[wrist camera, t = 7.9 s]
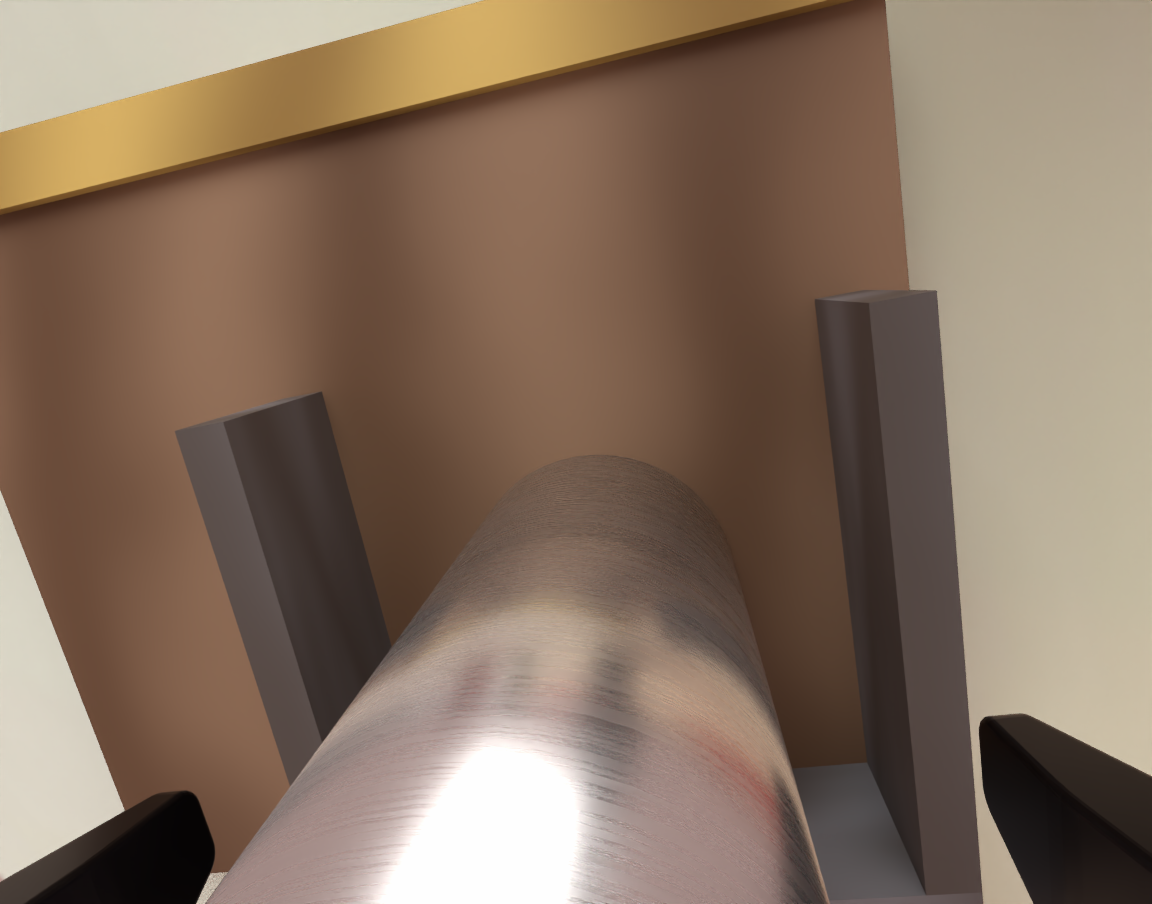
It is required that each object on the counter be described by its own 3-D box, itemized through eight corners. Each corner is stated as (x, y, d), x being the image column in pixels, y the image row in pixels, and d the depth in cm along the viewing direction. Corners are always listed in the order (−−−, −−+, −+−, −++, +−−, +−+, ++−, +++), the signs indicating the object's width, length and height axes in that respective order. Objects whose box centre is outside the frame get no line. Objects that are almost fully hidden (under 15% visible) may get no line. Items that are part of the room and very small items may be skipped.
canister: (713, 434, 12) (945, 1035, 2) (751, 682, 13) (1016, 1789, 3) (447, 477, 13) (-186, 1062, 3) (504, 708, 14) (159, 1673, 4)
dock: (840, -35, 12) (966, -256, 7) (916, 753, 15) (1037, 969, 10) (-20, 188, 15) (-352, 140, 10) (205, 813, 18) (39, 1006, 13)
